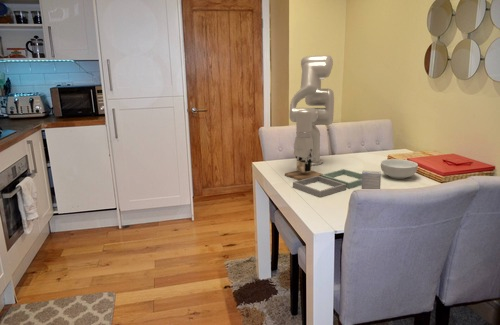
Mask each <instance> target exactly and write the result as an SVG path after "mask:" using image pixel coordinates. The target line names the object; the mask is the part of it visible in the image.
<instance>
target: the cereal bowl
mask: <svg viewBox="0 0 500 325" xmlns="http://www.w3.org/2000/svg"><path fill="white" fill-rule="evenodd" d="M418 166H419V165H418V163H417V162H415V161H412V160H407V159H402V158H401V159H399V158H387V159H384V160H381V162H380V168H381V171H382V172H383V173H384V175H387V176H389V177H390V178H392V179H396V180H398V179H399V180H404V179H406V178H409V177H413V176H414V175H415V174H416V173H417V172H418Z"/></svg>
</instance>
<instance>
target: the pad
mask: <svg viewBox="0 0 500 325" xmlns="http://www.w3.org/2000/svg"><path fill="white" fill-rule="evenodd" d="M322 174H323V173H321V172H319V171H318V172H317V171H314V170H312V169H311V171H308V172H304V173H303V172H300V171H297V170H294V171H290V172H286V173H284V176H285V177H287V178H291V179H294V180H296V181H299V180H303V179H307V178H311V177H314V176H321V175H322Z"/></svg>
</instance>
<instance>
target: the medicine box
mask: <svg viewBox="0 0 500 325" xmlns="http://www.w3.org/2000/svg"><path fill="white" fill-rule="evenodd" d="M361 174H362V185H361V189H380V190H381V182H382V180H381V179H382V172H381V171H379V170H362V173H361Z"/></svg>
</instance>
